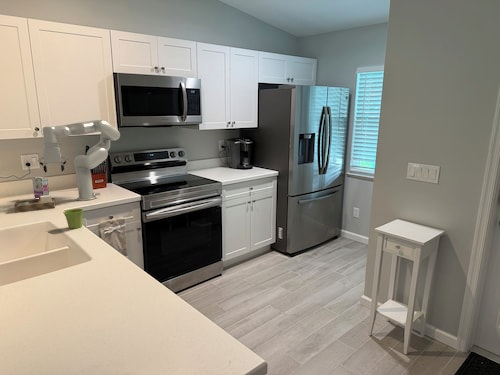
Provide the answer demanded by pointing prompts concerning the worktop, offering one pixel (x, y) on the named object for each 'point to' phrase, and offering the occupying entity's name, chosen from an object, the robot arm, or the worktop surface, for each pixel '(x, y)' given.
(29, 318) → the worktop surface
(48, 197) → the cream block
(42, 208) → the box
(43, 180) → the candy bar box
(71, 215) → the plant pot
